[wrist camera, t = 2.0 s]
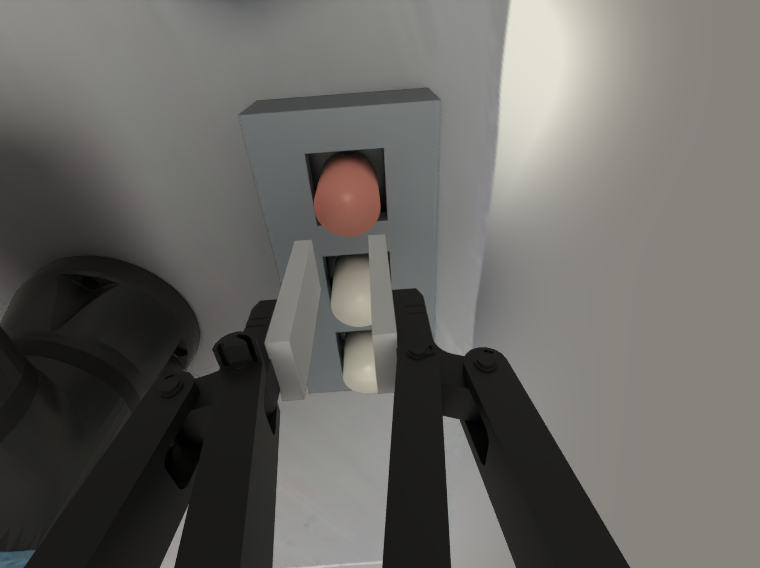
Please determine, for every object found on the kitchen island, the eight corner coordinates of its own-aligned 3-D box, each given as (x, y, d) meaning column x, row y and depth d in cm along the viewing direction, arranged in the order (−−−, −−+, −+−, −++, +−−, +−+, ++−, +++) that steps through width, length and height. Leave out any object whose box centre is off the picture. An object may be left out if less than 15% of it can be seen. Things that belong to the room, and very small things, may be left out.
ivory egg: (389, 351, 37) (392, 391, 33) (347, 354, 37) (346, 395, 33) (387, 319, 34) (390, 358, 30) (342, 322, 34) (340, 362, 30)
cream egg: (384, 287, 32) (388, 324, 28) (337, 291, 32) (334, 328, 28) (382, 246, 30) (385, 280, 26) (331, 250, 30) (327, 284, 26)
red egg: (379, 204, 28) (382, 234, 24) (324, 208, 28) (319, 239, 24) (375, 148, 26) (378, 171, 22) (316, 153, 26) (308, 177, 22)
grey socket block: (425, 347, 41) (433, 384, 37) (314, 356, 41) (308, 393, 37) (428, 87, 27) (440, 99, 23) (256, 100, 27) (237, 115, 23)
